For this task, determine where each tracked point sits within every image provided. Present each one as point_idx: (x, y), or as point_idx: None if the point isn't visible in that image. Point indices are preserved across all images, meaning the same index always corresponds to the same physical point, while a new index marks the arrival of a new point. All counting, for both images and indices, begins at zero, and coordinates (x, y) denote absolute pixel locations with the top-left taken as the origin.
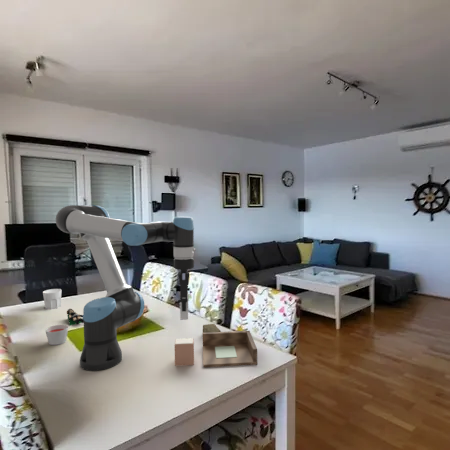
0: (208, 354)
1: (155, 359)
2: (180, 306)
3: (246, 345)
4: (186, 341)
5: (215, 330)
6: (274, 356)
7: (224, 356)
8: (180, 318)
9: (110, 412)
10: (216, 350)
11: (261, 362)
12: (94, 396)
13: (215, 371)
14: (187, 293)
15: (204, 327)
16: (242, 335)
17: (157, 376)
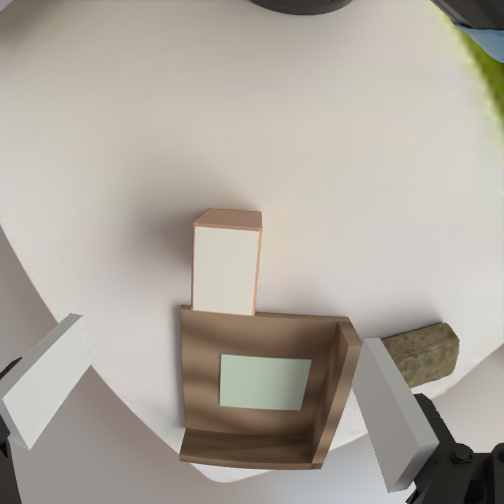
0: (257, 334)
1: (277, 131)
2: (13, 370)
3: (295, 434)
4: (215, 282)
5: None
6: None
7: (228, 377)
8: (65, 318)
9: (20, 73)
10: (280, 361)
11: None
12: (84, 9)
13: (155, 334)
14: (387, 475)
15: (440, 343)
16: (313, 447)
17: (142, 149)
